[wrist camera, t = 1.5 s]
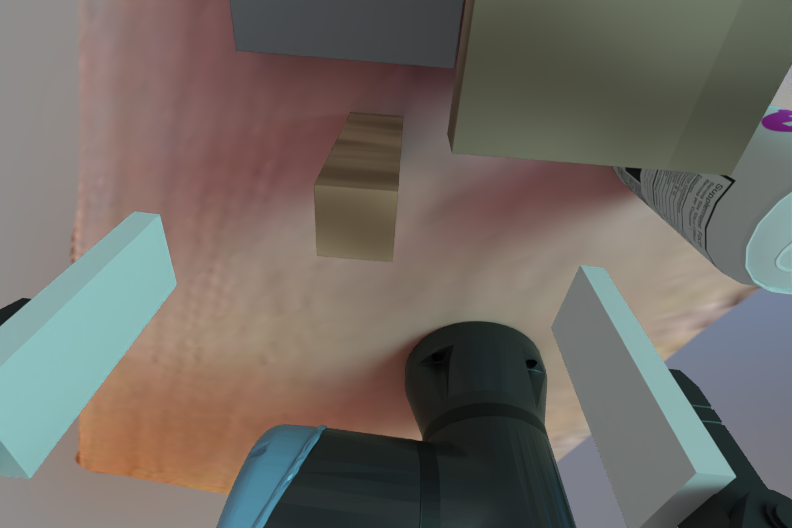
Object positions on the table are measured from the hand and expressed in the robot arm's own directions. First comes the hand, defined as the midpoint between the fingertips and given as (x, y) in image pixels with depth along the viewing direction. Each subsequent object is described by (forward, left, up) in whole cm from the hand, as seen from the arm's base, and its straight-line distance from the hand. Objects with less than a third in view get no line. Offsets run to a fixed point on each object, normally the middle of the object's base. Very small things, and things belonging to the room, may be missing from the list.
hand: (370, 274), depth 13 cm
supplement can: (0, -21, -22) cm, 30 cm away
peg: (-2, +1, -21) cm, 21 cm away
